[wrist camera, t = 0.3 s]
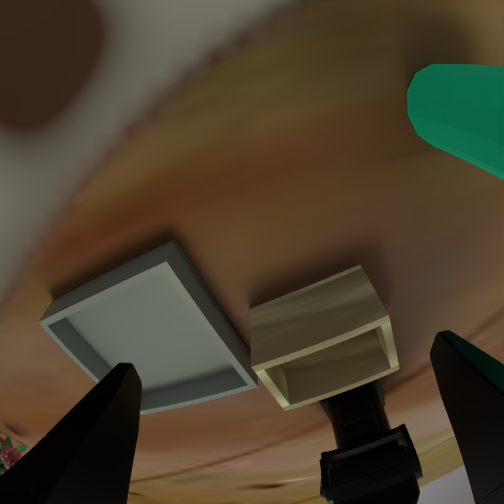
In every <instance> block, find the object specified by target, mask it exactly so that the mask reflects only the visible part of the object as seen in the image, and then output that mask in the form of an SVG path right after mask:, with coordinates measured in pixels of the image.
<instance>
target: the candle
mask: <svg viewBox="0 0 504 504" xmlns="http://www.w3.org/2000/svg"><path fill="white" fill-rule="evenodd" d="M407 115H408V117H409V119H410V121H411V123H412V125H413V127H414V129H415V131H416V133H417V135H419V136H420V137H421V138H423V139H424V140H425V141H427V142H428V143H430V144H431V145H432V146H434V147H436V148H439V149H441V150H443V151H446V152H448V153H450V154H452V155H454V156H457V157H459V158H461V159H463V160H465V161H467V162H469V163H471V164H474V165H476V166H478V167H480V168H482V169H484V170H486V171H488V172H489V173H491V174H493V175H495V176H497V177H499V178H501V179H503V180H504V67H503V66H490V65H473V64H431V65H429V66H427V67H425V68H423V69H422V70H420V71H418V72H416V74H415V76H414V78H413V80H412V82H411V84H410V86H409V88H408V90H407Z"/></svg>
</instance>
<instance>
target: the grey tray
mask: <svg viewBox="0 0 504 504" xmlns="http://www.w3.org/2000/svg"><path fill="white" fill-rule="evenodd" d="M39 323H40V324H41V326H42V327H43V328H44V329H45V330H46V331H47V332H48V334H49V335H50V336H51V337H52V338H53V339H54V340H55V341H56V342H57V343H58V345H59V346H60V347H61V348H62V349H63V350H64V351H65V352H66V353H67V354H68V355H69V356H70V357H71V358H72V359H73V360H74V361H75V362H76V363H77V364H78V365H79V366H80V367H81V368H82V369H83V370H84V371H85V372H86V373H87V374H88V375H89V376H90V377H91V378H92V379H93V380H94V381H95V382H96V383H98V382H99V381H100V380H101V379H102V378H104V377H105V376H106V375H107V374H108V373H109V372H110V371H111V370H112V369H113V368H114V367H115V366H116V365H117V364H118V363H120V362H127V363H132V364H133V365H134V367H135V369H136V371H137V373H138V375H139V377H140V379H141V382H142V395H141V406H140V415H143V414H148V413H154V412H159V411H164V410H169V409H174V408H178V407H183V406H187V405H192V404H196V403H200V402H205V401H209V400H213V399H217V398H221V397H224V396H228V395H232V394H236V393H239V392H243V391H246V390H250V389H253V388H257V387H258V376H257V374H256V373H255V371H254V370H253V369H252V367H251V352H250V351H249V349H248V348H247V346H246V345H245V343H244V342H243V341H242V339H241V338H240V336H239V335H238V333H237V332H236V330H235V329H234V327H233V326H232V325H231V323H230V322H229V320H228V319H227V317H226V316H225V314H224V313H223V311H222V310H221V308H220V307H219V305H218V304H217V302H216V301H215V299H214V298H213V296H212V295H211V293H210V292H209V290H208V289H207V287H206V286H205V284H204V283H203V281H202V280H201V278H200V277H199V275H198V273H197V272H196V270H195V269H194V267H193V266H192V264H191V263H190V261H189V259H188V258H187V256H186V255H185V253H184V252H183V250H182V248H181V247H180V245H179V244H178V242H177V240H176V239H173V240H171V241H169V242H167V243H165V244H163V245H161V246H159V247H157V248H155V249H153V250H151V251H148V252H146V253H144V254H142V255H140V256H138V257H136V258H134V259H132V260H130V261H128V262H126V263H124V264H122V265H120V266H118V267H116V268H114V269H112V270H110V271H108V272H106V273H104V274H102V275H100V276H98V277H96V278H94V279H93V280H91V281H89V282H87V283H85V284H83V285H81V286H79V287H77V288H75V289H73V290H71V291H69V292H68V293H66V294H64V295H62V296H60V297H58V298H56V299H54V300H53V301H52V303H51V304H50V306H49V307H48V309H47V310H46V312H45V313H44V315H43V316H42V318H41V319H40V321H39Z"/></svg>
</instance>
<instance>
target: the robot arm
mask: <svg viewBox="0 0 504 504" xmlns="http://www.w3.org/2000/svg"><path fill="white" fill-rule="evenodd" d="M430 359H431V362H432V366H433V369H434V373H435V376H436V380H437V383H438V387H439V391H440V394H441V398H442V401H443V404H444V406H445V409H446V412H447V414H448V417H449V420H450V423H451V425H452V428H453V431H454V434H455V437H456V440H457V443H458V446H459V449H460V452H461V455H462V459H463V462H464V465H465V468H466V472H467V475H468V479H469V482H470V485H471V489H472V493H473V497H474V501H475V503H476V504H504V364H502V363H501V362H499V361H498V360H496V359H495V358H493V357H491V356H490V355H488V354H487V353H485V352H484V351H482V350H480V349H479V348H477V347H476V346H474V345H473V344H471V343H469V342H468V341H466V340H465V339H463V338H461V337H460V336H458V335H457V334H455V333H453V332H452V331H450V330H446V331H441V332H438V333H437V334H436V336H435V339H434V342H433V345H432V348H431V351H430ZM141 395H142V382H141V379H140V377H139V375H138V373H137V371H136V369H135V367H134V365H133V364H132V363H127V362H120V363H118V364H117V365H116V366H115V367H114V368H113V369H112V370H111V371H110V372H109V373H108V374H107V375H106V376H105V377H104V378H102V379H101V380H100V381H99V382H98V383H97V384H96V385H95V386H94V387H93V388H92V389H91V390H90V391H89V392H88V393H87V394H86V395H85V396H84V397H83V398H82V399H81V400H80V401H79V402H78V403H77V404H76V405H75V406H74V407H73V408H72V409H71V410H70V411H69V412H68V413H67V414H66V415H65V416H64V417H63V418H62V419H61V420H60V421H59V422H58V423H57V424H56V425H55V426H54V427H53V428H52V429H51V430H50V431H49V432H48V433H47V434H46V435H45V437H43V438H42V439H41V440H40V441H39V442H38V443H37V444H36V445H35V446H34V447H33V448H32V449H31V450H30V451H29V452H28V453H27V454H25V455H24V456H23V457H22V458H21V459H20V460H18V461H17V462H16V463H15V464H14V465H12V466H11V467H10V468H9V469H7V470H6V471H5V472H4V473H2V474H1V475H0V504H127V498H128V491H129V484H130V478H131V472H132V466H133V460H134V454H135V449H136V443H137V438H138V431H139V420H140V406H141ZM319 402H320V404H321V406H322V407H323V409H324V411H325V412H326V414H327V416H328V417H329V419H330V421H331V422H332V426H333V431H334V436H335V440H336V445H337V449H335V450H332V451H329V452H327V451H326V452H322V453H321V459H320V460H319V461H320V467H321V486H320V495H321V496H322V497H324V498H326V500H327V502H328V504H417V502H418V498H419V494H420V489H419V486H418V482H417V480H418V479H420V478H423V474H422V469H421V465H420V462H419V459H418V456H417V453H416V450H415V448H414V445H413V443H412V440H411V438H410V435H409V433H408V430H407V428H406V426H405V423H404V424H402V425H400V426H399V427H396V428H394V429H392V430H391V427H390V425H389V422H388V419H387V416H386V413H385V410H384V406H385V401H384V397H383V393H382V389H381V386H380V382H379V379H376V380H373V381H371V382H368V383H366V384H363V385H361V386H358V387H355V388H353V389H350V390H347V391H345V392H342V393H339V394H336V395H334V396H331V397H328V398H325V399H322V400H319Z"/></svg>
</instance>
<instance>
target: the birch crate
mask: <svg viewBox="0 0 504 504" xmlns="http://www.w3.org/2000/svg"><path fill="white" fill-rule="evenodd" d="M249 322H250V349H251V367H252V369H253V370H254V371H255V373H256V374H257V375H258V377H259V378H260V379H261V381H262V382H263V383H264V385H265V386H266V387H267V388H268V390H269V391H270V392H271V394H272V395H273V396H274V398H275V399H276V400H277V401H278V403H279V404H280V405H281V407H282V408H283V409H284V410H285V411H287V410H290V409H294V408H297V407H300V406H303V405H307V404H310V403H313V402H316V401H319V400H322V399H325V398H328V397H331V396H334V395H336V394H339V393H342V392H345V391H347V390H350V389H353V388H355V387H358V386H361V385H363V384H366V383H368V382H371V381H373V380H376V379H378V378H381V377H383V376H385V375H388V374H390V373H392V372H395V371H397V370H399V364H398V358H397V353H396V348H395V343H394V338H393V333H392V328H391V323H390V319H389V315H388V313H387V311H386V309H385V307H384V305H383V304H382V302H381V300H380V298H379V296H378V295H377V293H376V291H375V289H374V287H373V286H372V284H371V282H370V280H369V279H368V277H367V275H366V273H365V272H364V270H363V268H362V267H361V265H357V266H355V267H353V268H350V269H348V270H346V271H343V272H341V273H338V274H336V275H334V276H331V277H329V278H326V279H324V280H322V281H319V282H317V283H314V284H312V285H309V286H307V287H304V288H302V289H299V290H297V291H294V292H292V293H289V294H287V295H284V296H282V297H279V298H277V299H274V300H271V301H269V302H266V303H264V304H261V305H258V306H256V307H253V308H251V309H249Z"/></svg>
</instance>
